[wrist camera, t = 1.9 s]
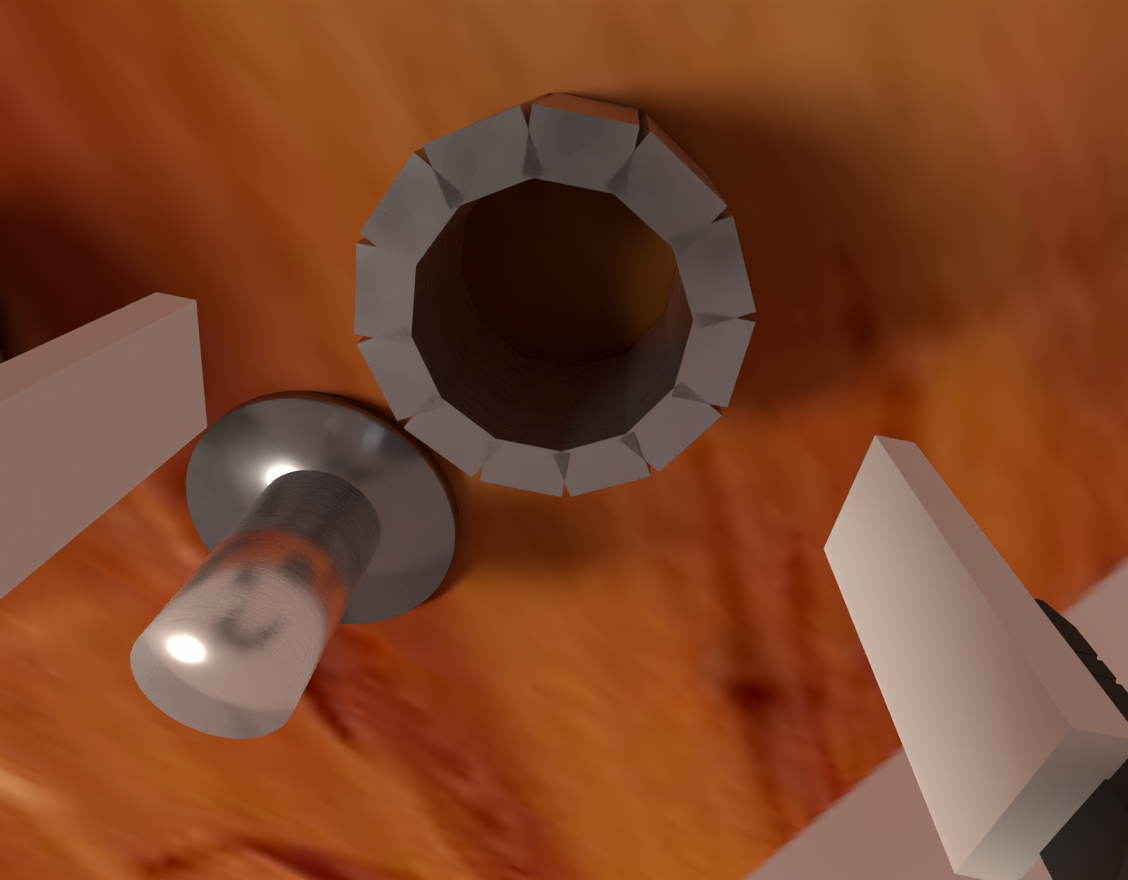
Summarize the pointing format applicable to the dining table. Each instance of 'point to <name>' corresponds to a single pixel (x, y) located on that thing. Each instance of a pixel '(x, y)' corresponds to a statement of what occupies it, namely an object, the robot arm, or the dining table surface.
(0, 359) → the mug
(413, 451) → the piston post
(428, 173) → the ring
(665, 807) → the dining table surface
